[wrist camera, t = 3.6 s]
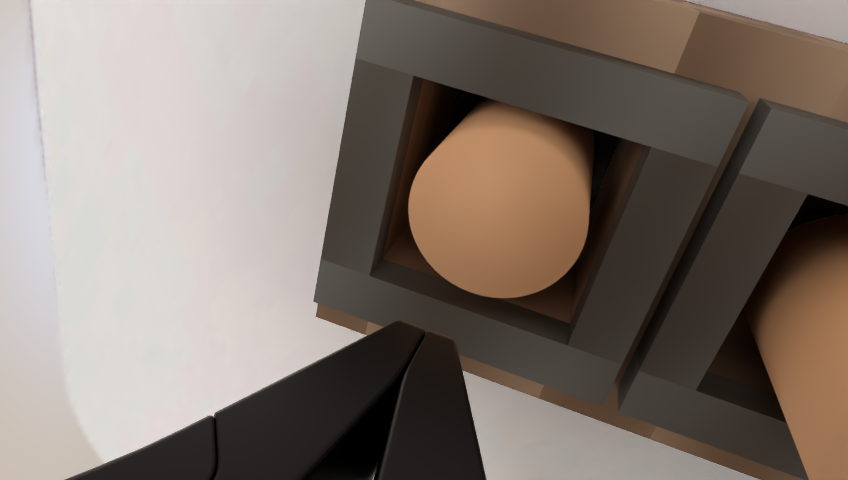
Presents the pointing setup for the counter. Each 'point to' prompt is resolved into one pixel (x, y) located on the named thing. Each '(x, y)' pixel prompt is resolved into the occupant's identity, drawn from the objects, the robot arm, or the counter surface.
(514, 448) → the counter surface
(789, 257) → the peg
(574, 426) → the counter surface
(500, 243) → the peg
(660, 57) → the socket block
